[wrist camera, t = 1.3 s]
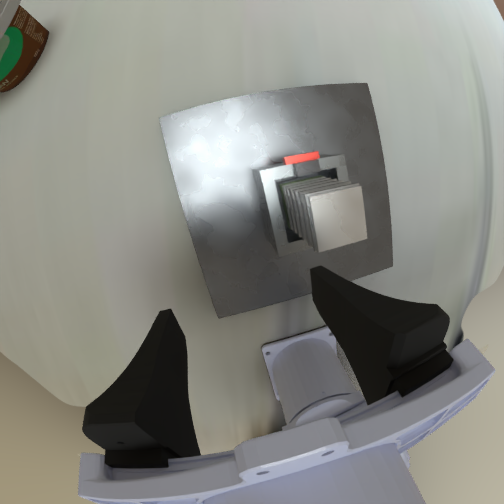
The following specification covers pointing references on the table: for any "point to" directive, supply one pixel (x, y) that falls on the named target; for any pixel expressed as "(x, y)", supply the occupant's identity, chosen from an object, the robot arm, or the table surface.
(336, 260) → the stand base
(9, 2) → the food container
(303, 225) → the lift column
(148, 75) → the table surface
